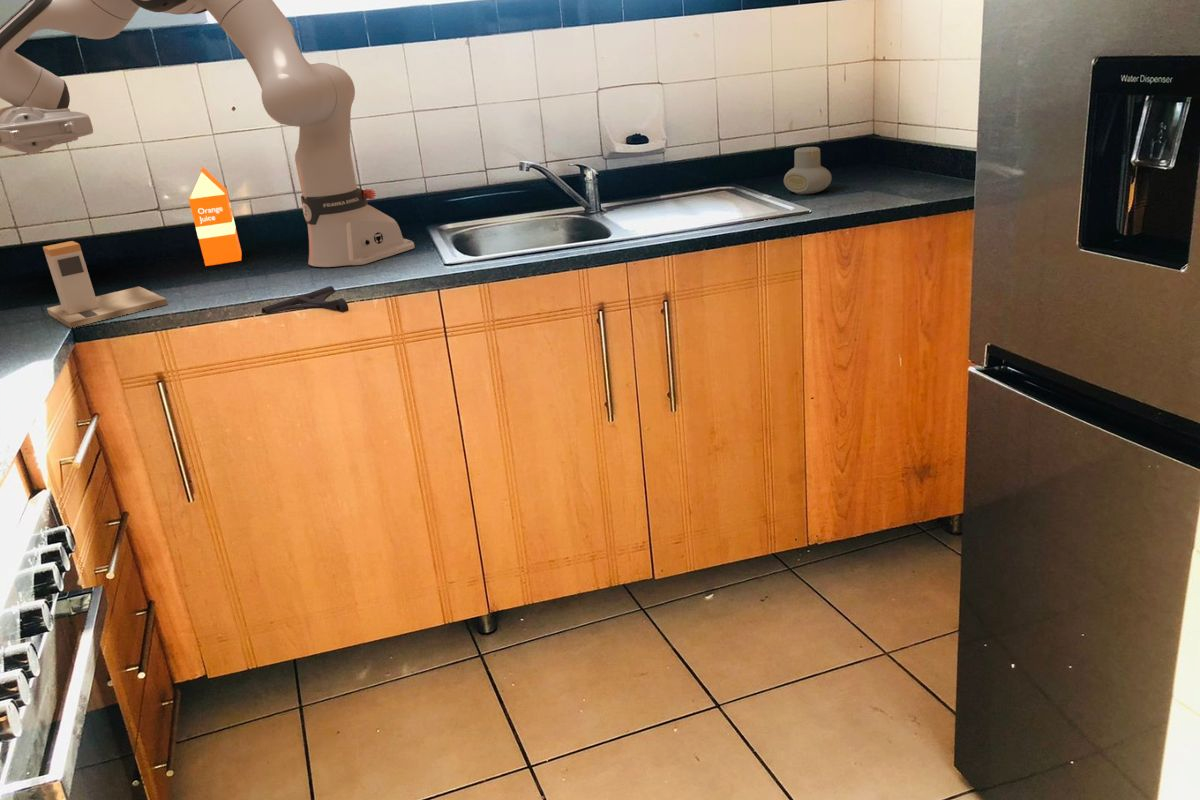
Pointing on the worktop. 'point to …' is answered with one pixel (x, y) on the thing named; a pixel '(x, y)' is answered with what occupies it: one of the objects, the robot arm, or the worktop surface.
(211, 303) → the worktop surface
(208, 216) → the orange juice
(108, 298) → the subfloor panel
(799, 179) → the air freshener
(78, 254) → the orange-capped beige carton
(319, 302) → the bracket
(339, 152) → the robot arm
